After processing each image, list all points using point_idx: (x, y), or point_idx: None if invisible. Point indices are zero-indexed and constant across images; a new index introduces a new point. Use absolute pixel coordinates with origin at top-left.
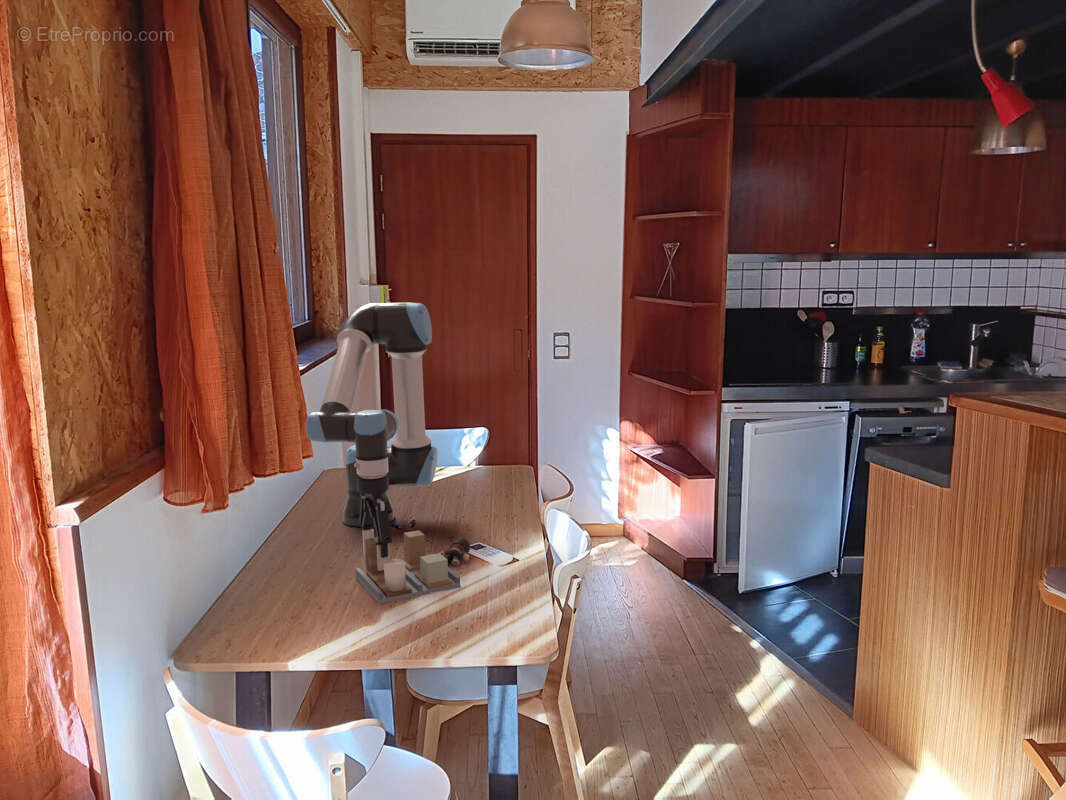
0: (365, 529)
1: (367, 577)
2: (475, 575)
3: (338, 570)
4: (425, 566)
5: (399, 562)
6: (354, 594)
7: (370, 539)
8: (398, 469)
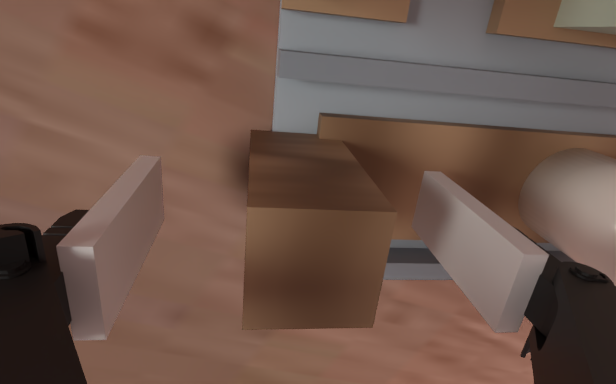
0: (68, 318)
1: (411, 267)
2: None
3: None
4: None
5: None
6: (419, 297)
7: (275, 299)
8: None
